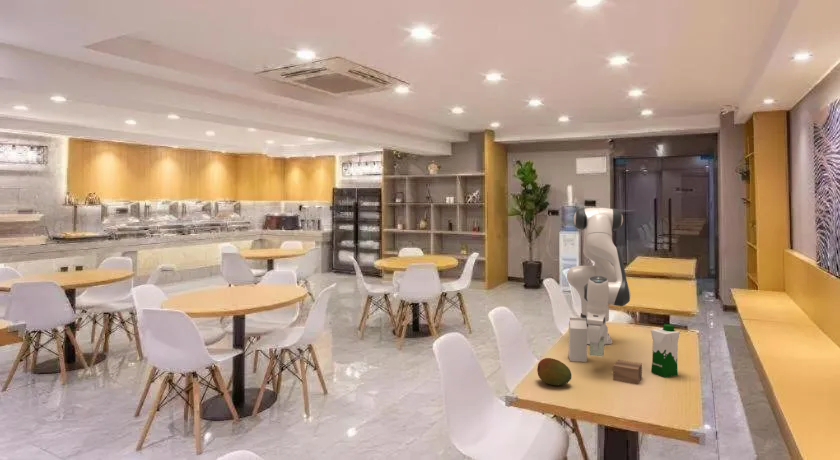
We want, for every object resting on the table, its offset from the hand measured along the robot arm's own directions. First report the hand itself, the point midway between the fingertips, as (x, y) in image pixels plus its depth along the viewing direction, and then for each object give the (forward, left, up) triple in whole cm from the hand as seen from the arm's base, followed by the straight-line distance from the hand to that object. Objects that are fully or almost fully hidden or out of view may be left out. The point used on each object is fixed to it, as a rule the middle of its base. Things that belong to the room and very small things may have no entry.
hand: (596, 347), depth 204 cm
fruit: (+25, -13, -10) cm, 29 cm away
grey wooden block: (0, 0, -3) cm, 3 cm away
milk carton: (-11, -10, -10) cm, 18 cm away
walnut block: (+6, +12, -10) cm, 17 cm away
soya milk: (-7, +25, -10) cm, 28 cm away
